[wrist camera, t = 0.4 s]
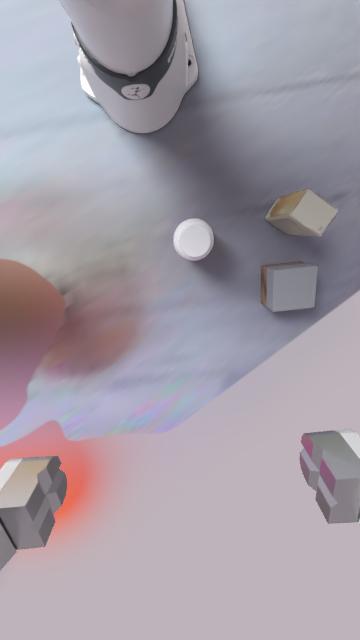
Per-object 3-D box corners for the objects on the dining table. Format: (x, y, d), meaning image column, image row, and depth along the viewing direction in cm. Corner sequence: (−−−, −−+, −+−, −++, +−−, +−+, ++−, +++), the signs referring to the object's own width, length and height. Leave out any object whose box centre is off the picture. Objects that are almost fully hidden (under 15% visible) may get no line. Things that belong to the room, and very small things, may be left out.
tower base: (260, 265, 51) (266, 268, 48) (299, 261, 51) (307, 263, 48) (260, 302, 54) (265, 307, 51) (297, 298, 54) (304, 302, 51)
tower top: (267, 267, 48) (273, 270, 45) (308, 262, 48) (318, 265, 45) (266, 306, 51) (272, 312, 48) (305, 302, 51) (314, 307, 48)
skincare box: (302, 215, 48) (342, 211, 36) (288, 235, 49) (322, 238, 38) (276, 196, 47) (308, 186, 35) (262, 218, 48) (289, 215, 36)
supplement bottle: (209, 221, 48) (220, 219, 36) (205, 256, 50) (214, 265, 38) (175, 218, 48) (174, 215, 36) (172, 253, 50) (171, 262, 38)
